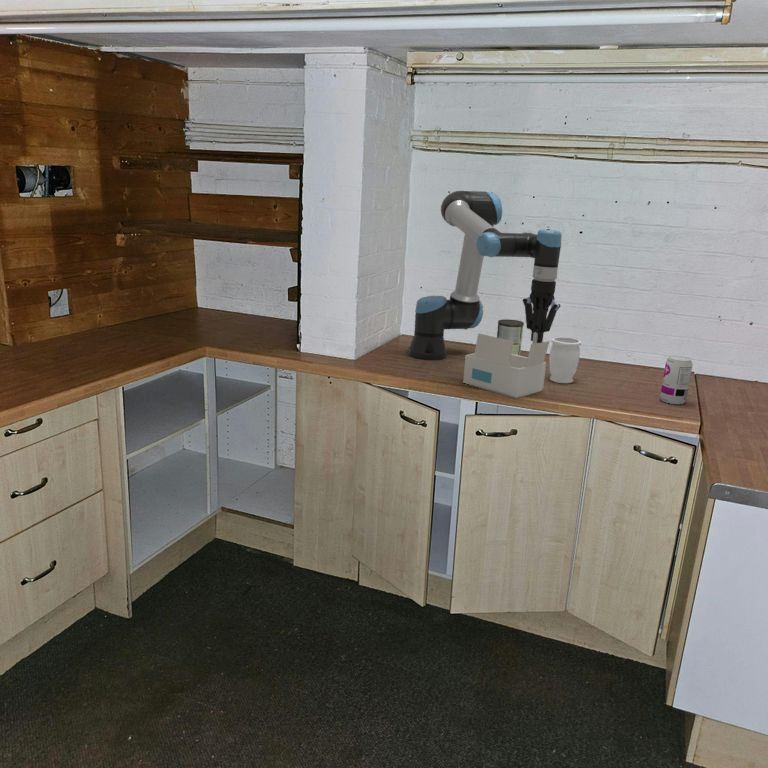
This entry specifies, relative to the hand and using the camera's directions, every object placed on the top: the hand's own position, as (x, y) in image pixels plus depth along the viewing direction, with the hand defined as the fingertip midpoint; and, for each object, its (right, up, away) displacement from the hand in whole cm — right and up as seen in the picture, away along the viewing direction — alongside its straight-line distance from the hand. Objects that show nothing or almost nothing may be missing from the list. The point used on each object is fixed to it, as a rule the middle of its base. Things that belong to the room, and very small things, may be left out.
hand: (535, 351), depth 228 cm
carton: (-9, -12, +12) cm, 19 cm away
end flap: (0, -1, 0) cm, 1 cm away
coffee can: (+1, +1, +57) cm, 57 cm away
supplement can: (+47, -17, +6) cm, 50 cm away
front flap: (-13, +1, +3) cm, 13 cm away
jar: (+15, -10, +24) cm, 30 cm away
